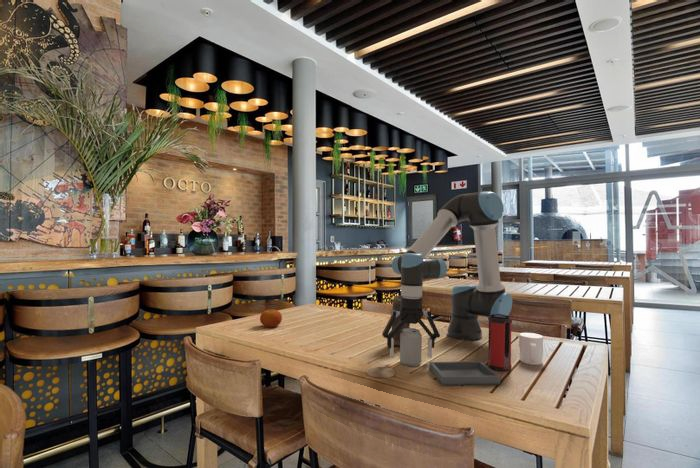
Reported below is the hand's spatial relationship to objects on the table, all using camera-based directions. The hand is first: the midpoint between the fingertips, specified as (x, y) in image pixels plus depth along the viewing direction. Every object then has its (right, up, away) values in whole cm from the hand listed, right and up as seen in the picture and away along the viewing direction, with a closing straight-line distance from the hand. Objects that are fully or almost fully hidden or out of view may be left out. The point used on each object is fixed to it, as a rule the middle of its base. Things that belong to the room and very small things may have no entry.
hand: (410, 357), depth 133 cm
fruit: (-60, -2, +51) cm, 79 cm away
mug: (+45, -3, +4) cm, 45 cm away
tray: (+15, -2, -12) cm, 19 cm away
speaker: (+30, -3, -3) cm, 31 cm away
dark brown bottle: (-1, -3, +22) cm, 22 cm away
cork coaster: (-11, -2, -10) cm, 15 cm away
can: (0, -3, 0) cm, 2 cm away
